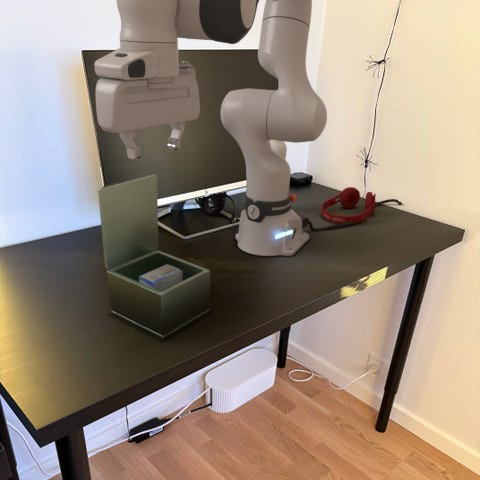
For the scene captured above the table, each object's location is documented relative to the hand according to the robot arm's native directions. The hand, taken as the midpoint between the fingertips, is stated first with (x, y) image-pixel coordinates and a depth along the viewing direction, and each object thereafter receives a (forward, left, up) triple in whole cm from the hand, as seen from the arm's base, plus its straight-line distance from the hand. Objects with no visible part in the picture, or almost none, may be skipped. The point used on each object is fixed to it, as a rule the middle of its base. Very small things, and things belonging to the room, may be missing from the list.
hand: (155, 153), depth 83 cm
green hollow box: (0, 0, -32) cm, 32 cm away
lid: (0, -7, -14) cm, 16 cm away
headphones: (-84, +1, -33) cm, 90 cm away
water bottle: (-69, -20, -33) cm, 79 cm away
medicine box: (0, 0, -32) cm, 32 cm away
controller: (-54, -33, -33) cm, 71 cm away
